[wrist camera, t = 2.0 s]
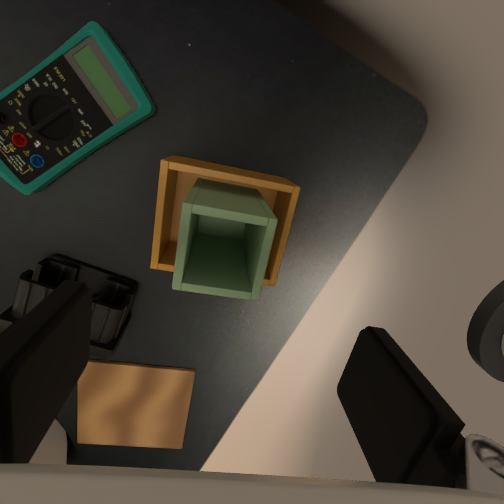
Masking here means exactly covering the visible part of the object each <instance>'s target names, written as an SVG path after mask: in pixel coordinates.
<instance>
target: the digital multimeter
mask: <svg viewBox="0 0 504 504" xmlns="http://www.w3.org/2000/svg"><path fill="white" fill-rule="evenodd" d="M155 112H156V108H155V105H154V104H153V102H152V100H151V98H150V96H149V95H148V93H147V91H146V89H145V87H144V86H143V84H142V82H141V81H140V79H139V77H138V76H137V74H136V72H135V71H134V69H133V68H132V66H131V65H130V63H129V62H128V60H127V59H126V57H125V56H124V55H123V53H122V52H121V50H120V49H119V48H118V46H117V45H116V44H115V42H114V41H113V40H112V38H111V37H110V36H109V34H108V33H107V32H106V31H105V30H104V29H103V28H102V27H101V26H100V25H98V24H97V23H96V22H93V21H91V22H89V23H88V24H86V25H85V26H84V27H83V28H82V29H80V30H79V31H78V32H77V33H76V34H75V35H73V36H72V37H71V38H70V39H69V40H68V41H66V42H65V43H64V44H63V45H62V46H60V47H59V48H58V49H57V50H56V51H55V52H53V53H52V54H51V55H50V56H49V57H47V58H46V59H45V60H43V61H42V62H41V63H39V64H38V65H37V66H36V67H34V68H33V69H32V70H30V71H29V72H28V73H27V74H25V75H24V76H23V77H21V78H20V79H19V80H17V81H16V82H14V83H13V84H11V85H10V86H8V87H7V88H5V89H4V90H3V91H1V92H0V176H1V177H2V178H3V179H4V180H6V181H7V182H8V183H9V184H11V185H12V186H13V187H15V188H16V189H17V190H19V191H20V192H21V193H23V194H24V195H29V194H33V193H36V192H39V191H41V190H43V189H44V188H45V187H47V186H48V185H49V184H51V183H52V182H53V181H54V180H56V179H57V178H58V177H60V176H61V175H62V174H64V173H65V172H66V171H68V170H69V169H70V168H72V167H73V166H75V165H76V164H77V163H79V162H80V161H81V160H83V159H84V158H86V157H87V156H88V155H90V154H91V153H93V152H94V151H96V150H97V149H99V148H101V147H102V146H104V145H105V144H107V143H108V142H110V141H111V140H113V139H114V138H116V137H117V136H119V135H121V134H122V133H124V132H126V131H127V130H129V129H131V128H132V127H134V126H136V125H137V124H139V123H140V122H142V121H144V120H145V119H147V118H149V117H150V116H152V115H154V113H155Z"/></svg>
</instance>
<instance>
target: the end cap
mask: <svg viewBox="0 0 504 504" xmlns="http://www.w3.org/2000/svg"><path fill="white" fill-rule="evenodd" d="M32 276H33V271H32V270H27V271H26V272H23V273H22V274H21V275H20V278H19V282H18V286H17V291H16V295H15V299H14V304H13V305H12V306H11V307H10V308H8V309H7V310H6V311H5V312H3V313H2V314H1V315H0V330H1V331H2V332H3V331H4V330H5V329H7V328H8V327H9V326H10V325H11V324H12V323H13V322H15V321H16V320H17V319H19V318H22V317H24V316H25V315H26V314H27V313H29V312H30V311H31V310H32V309H33V308H34V307H35V306H36V305H37V304H39V303H40V302H41V301H42V300H43V299H44V298H45V297H46V296H48V295H49V294H50V293H51V292H52V291H53V290H54V289H55V288H56V287H58V286H59V285H60V284H61V283H62V282H63V281H65V280H73V281H79V282H86V283H87V287H88V288H92V290H93V298H92V316H91V334H90V352H89V356H90V357H94V358H98V359H101V360H105V361H109V360H111V358H112V357H113V355H114V353H115V351H116V349H117V347H118V345H119V343H120V341H121V338H122V336H123V334H124V332H125V329H126V327H127V324H128V322H129V319H130V317H131V316H130V315H129V314H128V312H129V310H130V307H131V304H132V302H133V299H134V296H135V293H136V290H137V287H138V284H137V282H136V281H134V280H131V279H128V278H125V277H123V276H120V275H117V274H114V273H111V272H108V271H105V270H102V269H100V268H97V267H94V266H91V265H88V264H85V263H82V262H79V261H77V260H74V259H71V258H68V257H65V256H62V255H59V254H56V255H53V256H52V257H51V258H46V259H43V260H42V261H40V262H38V263H37V265H36V269H35V273H34V277H33V280H32Z"/></svg>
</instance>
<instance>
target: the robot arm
mask: <svg viewBox="0 0 504 504" xmlns="http://www.w3.org/2000/svg"><path fill="white" fill-rule="evenodd" d="M92 298H93V290H92V288H88V287H87V283H86V282H79V281H73V280H65V281H63V282H62V283H61V284H60V285H59V286H58V287H56V288H55V289H54V290H53V291H52V292H51V293H50V294H49V295H48V296H46V297H45V298H44V299H43V300H42V301H41V302H40V303H39V304H37V305H36V306H35V307H34V308H33V309H32V310H31V311H30V312H29V313H27V314H26V315H25V316H24V317H22V318H19V319H17V320H16V321H15V322H13V323H12V324H11V325H10V326H9V327H8V328H7V329H5V330H4V331H3V332H2V333H1V334H0V504H504V447H503V446H501V445H499V444H498V443H496V442H495V441H493V440H491V439H489V438H487V437H485V436H481V435H478V434H470V435H468V436H467V437H466V438H464V437H463V436H462V435H461V434H460V432H461V431H462V429H463V428H464V426H465V424H464V422H463V421H462V420H461V419H460V418H459V416H458V415H457V414H456V413H455V412H454V411H453V409H452V408H451V407H450V406H449V405H448V403H447V402H446V401H445V400H444V399H443V398H442V397H441V395H440V394H439V393H438V392H437V390H436V389H435V388H434V387H433V386H432V385H431V383H430V382H429V381H428V380H427V379H426V377H425V376H424V375H423V374H422V373H421V372H420V371H419V369H418V368H417V367H416V366H415V364H414V363H413V362H412V361H411V360H410V358H409V357H408V356H407V355H406V354H405V352H404V351H403V350H402V349H401V348H400V347H399V345H397V343H396V342H395V341H394V339H393V338H392V337H391V336H390V335H389V334H388V333H387V331H386V330H385V329H383V328H377V327H370V326H368V327H366V328H365V329H363V330H361V331H360V333H359V335H358V338H357V340H356V343H355V345H354V347H353V350H352V352H351V354H350V357H349V359H348V362H347V364H346V366H345V369H344V371H343V374H342V376H341V378H340V381H339V383H338V386H337V393H338V397H339V399H340V401H341V403H342V406H343V408H344V410H345V413H346V415H347V417H348V419H349V422H350V424H351V426H352V428H353V431H354V433H355V435H356V437H357V440H358V442H359V444H360V446H361V449H362V451H363V453H364V455H365V457H366V460H367V462H368V464H369V467H370V469H371V471H372V473H373V476H374V478H375V480H376V482H368V481H353V480H351V481H350V480H337V479H321V478H306V477H305V478H304V477H288V476H272V475H255V474H239V473H222V472H204V471H186V470H168V469H149V468H130V467H112V466H87V465H59V464H31V463H29V461H30V460H31V458H32V456H33V455H34V453H35V451H36V450H37V448H38V446H39V445H40V443H41V441H42V440H43V438H44V436H45V435H46V433H47V431H48V430H49V428H50V426H51V425H52V423H53V421H54V420H55V418H56V416H57V415H58V413H59V411H60V410H61V408H62V406H63V405H64V403H65V401H66V400H67V398H68V396H69V395H70V393H71V391H72V390H73V388H74V386H75V385H76V383H77V381H78V380H79V378H80V376H81V375H82V373H83V371H84V370H85V368H86V366H87V363H88V360H89V352H90V334H91V316H92ZM501 350H502V354H503V356H504V334H503V337H502V342H501Z"/></svg>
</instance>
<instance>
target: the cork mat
mask: <svg viewBox="0 0 504 504" xmlns="http://www.w3.org/2000/svg"><path fill="white" fill-rule="evenodd" d="M194 377H195V369H186V368H176V367H165V366H155V365H145V364H134V363H124V362H114V361H103V360H93V359H89V360H88V363H87V366H86V368H85V370H84V371H83V373H82V375H81V376H80V378H79V380H78V420H77V443H84V444H102V445H120V446H139V447H157V448H175V449H182V445H183V439H184V433H185V428H186V422H187V416H188V411H189V405H190V399H191V394H192V388H193V382H194Z"/></svg>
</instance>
